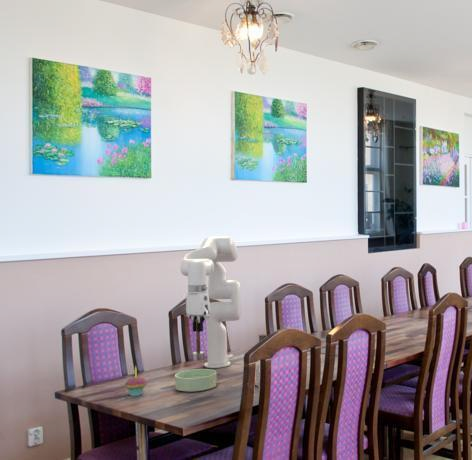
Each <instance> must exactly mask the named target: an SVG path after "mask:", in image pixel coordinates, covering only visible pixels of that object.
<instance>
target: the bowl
mask: <svg viewBox="0 0 472 460" xmlns="http://www.w3.org/2000/svg"><path fill="white" fill-rule="evenodd" d="M217 375H218V374H217V371H216V370H214V369H212V368H196V369H187V370H182V371H178V372H177V373H175V374H174V389H175V390H177V391H180V392H186V393H191V392H192V393H195V392H203V391H207V390H210V389H213V388H215V387H216V386H217V384H218V381H217V377H218V376H217Z"/></svg>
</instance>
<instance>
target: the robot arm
mask: <svg viewBox="0 0 472 460" xmlns="http://www.w3.org/2000/svg"><path fill="white" fill-rule="evenodd" d="M234 241H235V240H234V239H232V238H231V237H230V236H226V235H224V236H221V235H220V236H207V237H206V238H204V240H203V241H202V243H201V245H200V246H199V248H196V249H194V250H191V251H189V252H188V253H186V254H185V255H184V256H183V258H182V260H181V262H180V273H181V275H183V276H185V277H187V292H186V300H185V313H186V314H185V315H186V317H187V318H189V319H190V322H191V323H192V333H193V332H194V333H196V319H198V323H197V332H200V333H201V332H203V331H204V323H206V349H207V350H206V352H207V353H206V354H207V356H206V358H207V362H205V363H204V365H203V366H204V367H205V368H206V369H222V368H226V367H229V366H230V365H231V361H230V359H233V358H234V355H233V354H228V333H227V328H226V325H225V324H224V323H223V322H236V321H239V320H240V318H241V315H242V286H241V283H240V281H238V280H236V279H227V270H226V268H225V266H224V265H223V264H222V263H230V262H232V263H233V262H235V261H237V259H238V256H239V251H238V247H237V245H236V243H235V242H234ZM207 276H208V282H207ZM207 283H208V286H207ZM210 299H212V300H230V301H213V302H210Z"/></svg>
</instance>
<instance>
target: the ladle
mask: <svg viewBox="0 0 472 460" xmlns="http://www.w3.org/2000/svg"><path fill="white" fill-rule="evenodd" d="M197 323H198V319H196V331H195V343H196V344H195V347H196V348H195V349H196V351H193V352H192V356H191V357H192V361H193V362H194V361H195V362H197V361H198V362H199V361H204V360H205V359H206V358H205V351H201V332H197Z"/></svg>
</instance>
